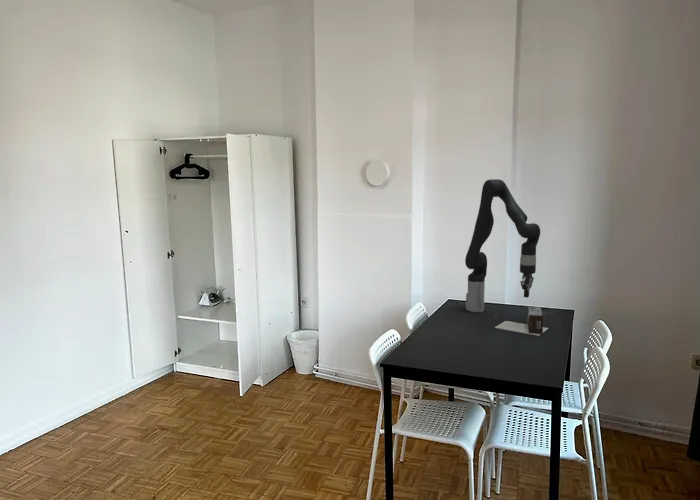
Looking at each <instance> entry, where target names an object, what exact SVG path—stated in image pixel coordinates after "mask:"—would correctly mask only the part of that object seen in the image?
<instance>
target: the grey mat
mask: <svg viewBox="0 0 700 500" xmlns="http://www.w3.org/2000/svg"><path fill="white" fill-rule="evenodd" d="M494 329H498V330H505V331H508V332H509V331H510V332H514V333H515V332H516V333H519V334H520V333H521V334H526V335H531V336H537V337H540V336H541V335H542V334H544V333H545V332H546V331H548V329H549V327H544V326H543V333H542V334H536V333H529V330H528V325H527V323H521V322H516V321H509V320H504V321H503V322H501V323H499V324H498V325H496V326H495V327H494Z"/></svg>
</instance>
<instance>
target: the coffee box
mask: <svg viewBox="0 0 700 500" xmlns="http://www.w3.org/2000/svg"><path fill="white" fill-rule="evenodd" d="M543 316H544V315H543V312H542V309H541V307H536V306H535V307H534V306H527V319H526V322H527V323H526V324H527V325H528V330H529V333H536V334H541V335H542V334H544V333H543V327H544V325H543V323H544V317H543Z"/></svg>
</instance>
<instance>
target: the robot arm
mask: <svg viewBox="0 0 700 500" xmlns="http://www.w3.org/2000/svg"><path fill="white" fill-rule="evenodd" d="M481 189H482V190H481V195H480V203H479V208H478V213H477V217H476V220H475V225H474V229H473V233H472V237H471V241H470V244H469V247H468V250H467V252H466V254H465V255H466V256H465V260H464V261H465V267H466V268H467V269H468V270H472V271H471V273H470V274H468V276H467V293H465V310H466V311H468V312H471V313H482V312H484V311H485V287H486V286H485V280H486V277H487V273H488V271H487V269H488V257H487V255H486V253H484V252H483V251H481V248H482V246H483V245H484V244H485V242H486V241H487V239H488V238H489V237H490V236H491V235H492V231H493V228H494V227H493V226H494V224H495V223H494V222H495V220H494V214H493V211H492V203H493V200H494V198H499V199H500V200H501V201H502V202H503V204H504V206H505V212H506V214H507V216H508V217H509V219H510V220H511V221H512V222H513V224H514V226H515V229H516V231H517V233H518V235H519V236H520V237H521V238H523V239H526V241H524V242H522V244H521V249H520V252H521V253H520V262H519V273H521V274H522V277H521V280H520V282H519V283H520V285H521V289H522V290H523V298H530V290H531V289H532V286H533V283H534V278H535V277H534V276H533V274H535V273H536V271H537V270H536V269H537V245H538V243H539V240H540V236H541V228H540V226H539V224H538V223H534V222H532V223H527V221H528V216H527V214H526V213H525V212H524V210H523V209H522V208H521V207H520V206H519V204H518V203H517V202H516V200H515V198H514V197H513V195H512V193H511V190H510V189H509V187H508V186H507V184H506V182H504V180H502V179H498V178H496V179H487V180H485V181H484V183H483V185H482V188H481Z"/></svg>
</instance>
